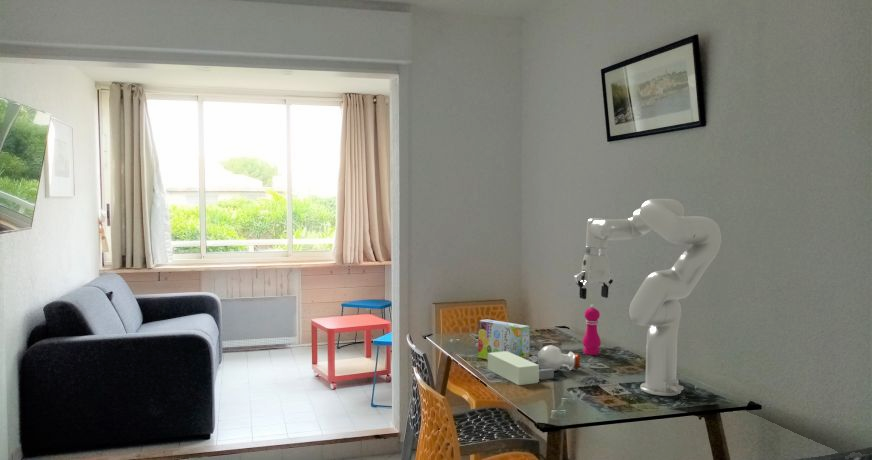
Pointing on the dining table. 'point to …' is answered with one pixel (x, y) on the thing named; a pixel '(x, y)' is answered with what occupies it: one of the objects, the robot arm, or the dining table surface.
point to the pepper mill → (591, 332)
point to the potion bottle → (557, 358)
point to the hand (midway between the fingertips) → (593, 297)
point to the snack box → (503, 338)
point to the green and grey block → (517, 368)
